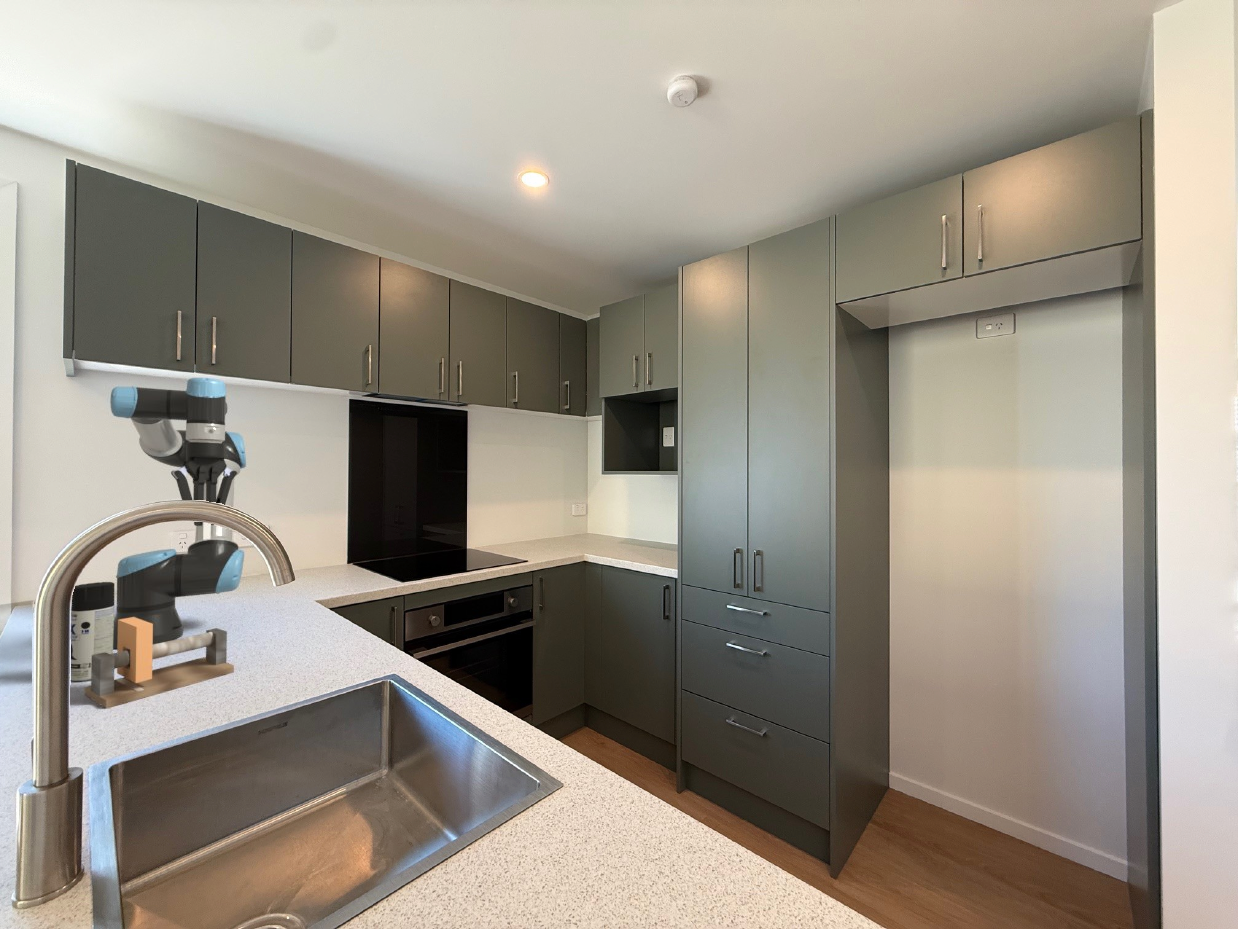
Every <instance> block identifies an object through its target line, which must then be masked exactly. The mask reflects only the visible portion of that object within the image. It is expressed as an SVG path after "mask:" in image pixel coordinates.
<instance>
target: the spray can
mask: <svg viewBox="0 0 1238 929" xmlns="http://www.w3.org/2000/svg"><path fill="white" fill-rule="evenodd" d="M74 586H75V589H74V592H73V595H72V594H71V607H70V611H71V612H70V639H71V680H70V682H73V683H78V682H77V681H83V682H89V680H90V681H91V664H92V655H94V654H99V653H104V652H106V653H108V654H113V653H114V648H113V631H114V619H115V582H112V581H103V582H102V581H101V582H98V581H97V582H92V583H91V582H90V583H83V584H77V585H74ZM75 681H76V682H75Z"/></svg>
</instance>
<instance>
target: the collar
mask: <svg viewBox="0 0 1238 929" xmlns="http://www.w3.org/2000/svg"><path fill="white" fill-rule="evenodd" d="M152 645H153V624H152V623H149V622H146V621H144V620H141V619H138V618H135V617H131V618H125V619H120V620H118V645H117V649H116V650H117V651H116V653H117V652H122V651H125V650H127V649H130V666H124V667H120V668H116V673H117V675H119V676H121V677H122V678H123V677H125V678H127V679H129V680H131V681H133V682H135V683H138V682H142V681H146V680H149V679H152V670H153V660H152Z"/></svg>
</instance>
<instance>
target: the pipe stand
mask: <svg viewBox="0 0 1238 929" xmlns="http://www.w3.org/2000/svg"><path fill="white" fill-rule="evenodd" d="M227 641H228V632H227V630H223V629H220V628H217V627H216V628H210V629H206V631H205V633H200V634H195V635H191V636H186V637H182V638H176V639H174V640H171V641H167V642H163V643H158V644H154V645H152V661H153V660H156V659H160V658H164V657H170V656H173V655H177V654H182V653H186V652H190V651H195V650H198V649H204V648H205V656H204V657H203V656H202V657H199V658H196V659H192V660H191V659H190V660H188V661H183V662H180V663H175V664H171V665H167V666H163V667H159V668H155V669H152V679H149V680H146V681H142V682H138V683H135V682H133V681H131V680H129V679H127V678H125V677H123V676H122V677H118V678H115V669H117V668H120V667H124V666H130V649H127V650H125V651H122V652H117V651H116V652H113V654H108V653H106V652H104V653H99V654H94V655H92V664H91V680H90V685H89V686H85V687H84V695H85V696H86V697H87V698H89V697H90V699H91V700H93V701H94V702H95V703H97V704H99V705H101V706H102V707H103V708H105V709H108V708H110V709H111V708H113V707H116V706H119V705H123V704H126V703H131V702H134V701H137V700H142V699H144V698H148V697H151V696H154V695H155V696H156V695H158V694H162V693H166V692H169V691H173V690H177V689H179V688H182V687H183V688H184V687H186V686H190V685H194V684H198V683H200V682H204V681H208V680H211V679H214V678H215V679H216V678H218V677H222V676H225V675H228V674H233V673H234V672H235V671H234V670H235V665H234V664H231V663H228V662H227V651H228V650H227V649H228V647H227V646H228V645H227V644H228V642H227Z"/></svg>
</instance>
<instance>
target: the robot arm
mask: <svg viewBox="0 0 1238 929" xmlns="http://www.w3.org/2000/svg"><path fill="white" fill-rule="evenodd" d="M226 396H227V391H226V383H225V381H222V380H220V379H215V378H208V377H192V378H189V379H188V380H187V382H186V389H185V390H182V389H181V390H179V389H178V390H176V389H164V388H154V387H153V388H151V387H138V386H133V385H132V386H115V387H113V389H112V390H111V393H110V402H109V403H110V411H111V413H112V415H113V416H114V417H116V418H117V417H118V418H124V419H125V418H126V419H130V420H131V422H132V424H133V426H134V427H135V429H136V431H137V433H138V435H139V438H138V441H139V442H138V444H139V446H140V448H141V450H142V451H143V453H145V455H147V456H148V457H149V458H151V459H153V460H155V461H157V462H159V463H162V464H164V465H167V466H170V467H176V468H178V469H175V470H172V471H171V472H170V474H171V475H172V477H173V478H174V479H175V480H176V484H177V487H178V491H179V494H180V498H181V501H182V500H206V501H209V502H216V503H222V504H224V505H229V506H231V507H233V508H234V501H235V498H234V497H235V496H234V495H235V477H236V476H238V475H239V474H240V472H241V470H242V469H245V468H246V467H247V457H246V448H245V443H244V442H245V441H244V438H243V436H242V435H241V434H240V433H239V432H232V431H231V432H230V431H226V414H227V413H228V403H227V398H226ZM173 420H174V421H186V422H185V424H186V425H185V430H183V429H182V430H181V429H180V430H179V429H175V428H174V424H173V422H172V421H173ZM187 474H188V475H189V476H190V477H191V479H192V484H193V493H191V489H190V486H189V483H188V479H187ZM192 494H193V496H192ZM193 524H194V526H195V538H194V541H195V542H193V543H191V544H190V545H189V546H188V547H187V553H178V552H177V551H176V549H175V548H169V549H167V548H166V549H158V550H152V551H147V552H141V553H136V554H132V555H129V556H125V557H123V558H122V559H120V561H119V562H118V564H117V570H116V571H117V572H116V575H115V578H116V614H115V616H114V631H113V650H114V649H116V650H117V645H118V620H120V619H125V618H131V617H135V618H138V619H141V620H144V621H146V622H149V623H152V624H153V645H154V644H158V643H163V642H167V641H172V640H176V639H180V637H182V636H183V635H184V624H183V622H182V620H181V618H180V616H179V615H180V614H179V613H178V611H177V608H176V598H180V597H182V598H183V597H190V596H191V597H193V596H201V595H211V594H212V595H213V594H214V595H215V594H217V595H218V594H221V593H229V592H232V591H235V590H237V589H238V587H239V585H240V583H241V578H242V575H243V569H244V568H243V567H244V562H245V561H244V560H245V551H244V549H239V545H238V543H237V542H235V540H234V541H233V534H234V533H233V532H234V531H232V530H229V529H225V528H223V527H220V526H215V525H214V524H208V523H204V522H194V521H193Z"/></svg>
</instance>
